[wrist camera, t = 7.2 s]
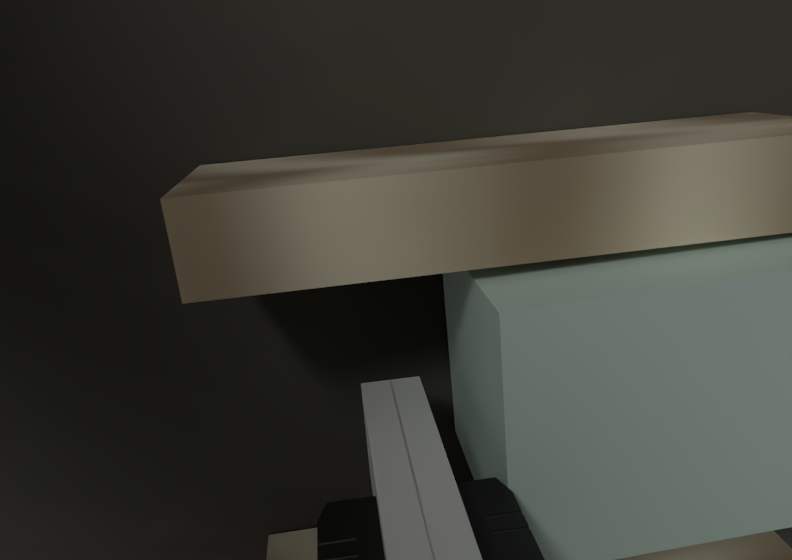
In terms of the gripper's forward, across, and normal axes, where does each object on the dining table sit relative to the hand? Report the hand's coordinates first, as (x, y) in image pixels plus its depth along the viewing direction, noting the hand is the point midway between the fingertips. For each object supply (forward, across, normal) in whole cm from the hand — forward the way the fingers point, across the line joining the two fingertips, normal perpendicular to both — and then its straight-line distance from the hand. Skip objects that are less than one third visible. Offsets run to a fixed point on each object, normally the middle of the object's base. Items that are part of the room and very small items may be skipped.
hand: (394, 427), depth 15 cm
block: (+2, +7, +2) cm, 7 cm away
